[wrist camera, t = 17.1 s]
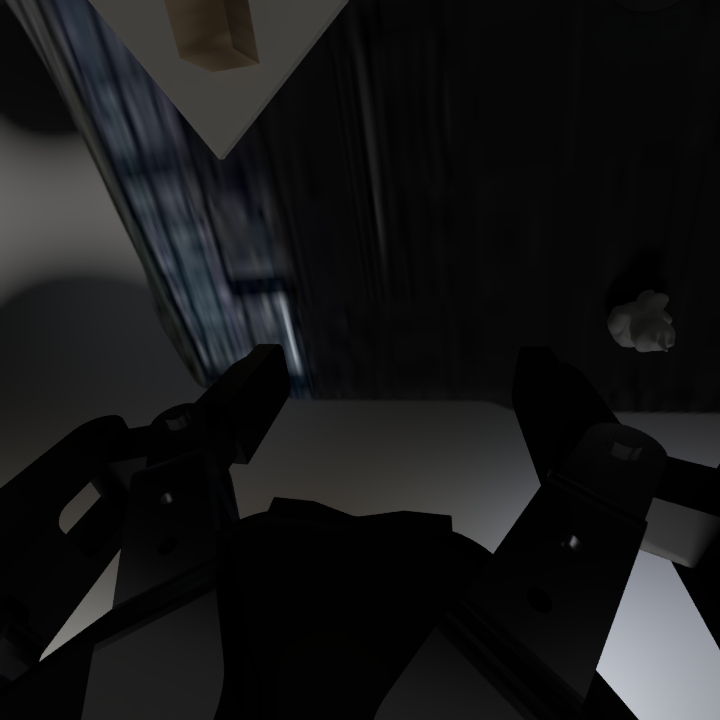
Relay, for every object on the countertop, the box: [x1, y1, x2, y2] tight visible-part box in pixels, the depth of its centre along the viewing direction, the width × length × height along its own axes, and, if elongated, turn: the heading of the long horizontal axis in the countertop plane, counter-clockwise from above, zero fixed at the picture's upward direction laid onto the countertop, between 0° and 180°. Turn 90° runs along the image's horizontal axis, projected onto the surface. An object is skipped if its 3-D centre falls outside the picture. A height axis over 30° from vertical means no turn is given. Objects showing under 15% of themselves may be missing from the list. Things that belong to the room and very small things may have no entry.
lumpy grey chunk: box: [607, 290, 675, 352], centre depth 34 cm, size 5×7×8 cm
